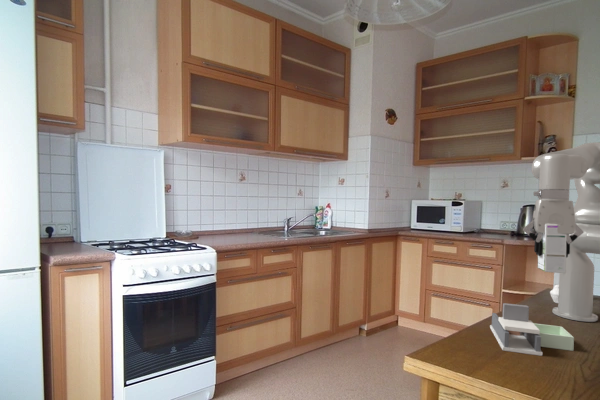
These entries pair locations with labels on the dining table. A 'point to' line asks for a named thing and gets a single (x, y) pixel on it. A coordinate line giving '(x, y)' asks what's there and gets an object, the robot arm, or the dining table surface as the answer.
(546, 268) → the syrup box
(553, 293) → the muffin
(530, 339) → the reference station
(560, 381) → the dining table surface
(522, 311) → the cover
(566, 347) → the socket
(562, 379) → the dining table surface
